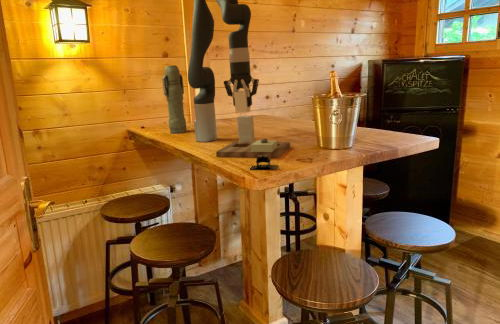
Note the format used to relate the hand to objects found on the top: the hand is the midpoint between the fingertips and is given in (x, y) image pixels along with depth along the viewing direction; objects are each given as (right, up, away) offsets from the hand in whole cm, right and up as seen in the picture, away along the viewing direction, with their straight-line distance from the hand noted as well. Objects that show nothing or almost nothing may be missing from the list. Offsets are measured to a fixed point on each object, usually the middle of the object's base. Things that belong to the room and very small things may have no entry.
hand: (242, 106), depth 149 cm
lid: (+8, -17, -7) cm, 20 cm away
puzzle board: (+4, -18, +1) cm, 18 cm away
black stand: (+7, -24, -21) cm, 33 cm away
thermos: (-36, -5, +61) cm, 71 cm away
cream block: (0, -2, 0) cm, 2 cm away
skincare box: (+1, -13, +19) cm, 24 cm away
